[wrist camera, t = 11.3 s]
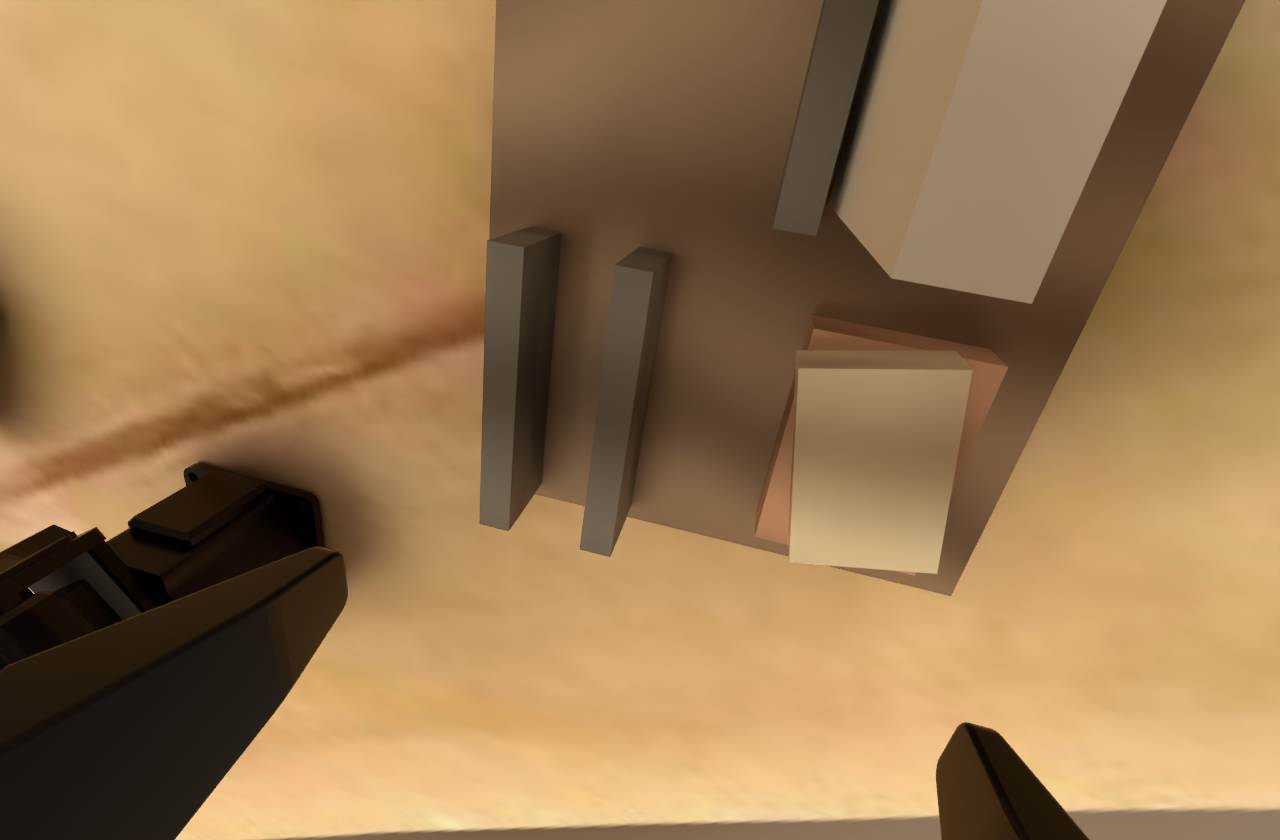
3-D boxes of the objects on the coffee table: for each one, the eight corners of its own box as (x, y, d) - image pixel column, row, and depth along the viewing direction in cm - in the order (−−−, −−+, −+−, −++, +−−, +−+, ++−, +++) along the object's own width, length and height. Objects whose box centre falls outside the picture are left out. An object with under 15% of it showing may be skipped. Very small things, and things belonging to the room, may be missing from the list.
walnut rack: (939, 568, 21) (977, 664, 17) (499, 462, 24) (442, 526, 20) (1282, -160, 13) (1516, -302, 9) (528, -226, 15) (436, -363, 11)
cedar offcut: (905, 546, 20) (914, 575, 18) (756, 511, 20) (754, 536, 19) (989, 349, 17) (1008, 366, 15) (810, 314, 17) (813, 328, 16)
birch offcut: (925, 542, 18) (936, 574, 17) (788, 532, 19) (789, 562, 17) (955, 350, 15) (972, 369, 14) (796, 350, 16) (798, 368, 15)
